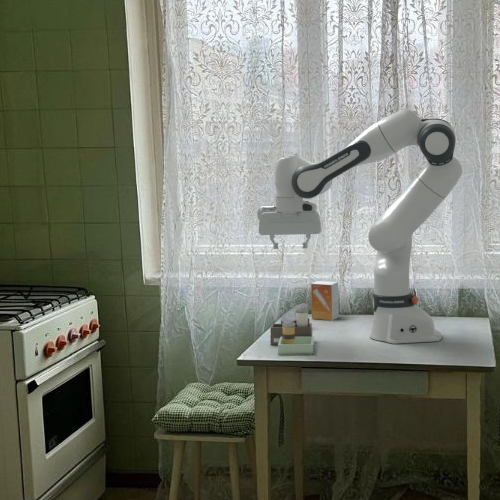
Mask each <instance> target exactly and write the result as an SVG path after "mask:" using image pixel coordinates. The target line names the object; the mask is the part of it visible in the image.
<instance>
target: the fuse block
mask: <svg viewBox="0 0 500 500" xmlns="http://www.w3.org/2000/svg"><path fill="white" fill-rule="evenodd" d="M294 325H295V327H294V329H295V337H313V324H312V323H310V322H309V323H308V327H297V323H294ZM269 329H270V337H269V338H270V340H269V341H270V346H278V343H279V340H280V337H283V327H282V324H281V323H271V325H270V328H269Z"/></svg>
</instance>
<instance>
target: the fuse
mask: <svg viewBox="0 0 500 500" xmlns="http://www.w3.org/2000/svg"><path fill="white" fill-rule="evenodd" d="M308 318H309V309H308V307H307V308H306V307H298V308H296V320H297V327H308Z"/></svg>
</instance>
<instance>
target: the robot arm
mask: <svg viewBox="0 0 500 500" xmlns="http://www.w3.org/2000/svg"><path fill="white" fill-rule="evenodd" d="M456 136H457V135H456V132H455V129H454V128H453V126H452V125H451V123H450V122H448V121H446V120H445V119H442V118H422V119H421V118H420V117H419V115H418V114H417V113H416V112H414V111H413V110H411V109H407V108H404V109H402V110H398V111H396V112H393V113H392V114H389V115H387V116H386V117H383V118H381V119H380V120H378V121H377V122H375V123H373V124H372V125H370V126H369V127H368V128H366V129H365V130H364V131H363V132H361V134H359V135H358V136H356V138H355V139H353V140H352V141H351V142H350V143H349V144H348V145H347V146H345V147H344V148H342V149H341V150H339V151H338V152H336V153H334V154H333V155H331V156H329V157H328V158H326V159H324V160H321V161H320V162H318V163H314V162H312V161H309V160H307V159H305V158H303V157H302V156H301V155H300V154H289V155H286V156H285V155H284V156H282V157H279V158H278V159H277V160H276V162H275V167H274V168H275V169H274V185H275V189H276V190H275V199H274V200H275V205H271V206H270V205H269V206H261V207H260V208H258V210H257V211H256V213H257V216H256V217H257V220H258V221H259V222H258V234H259V235H260V236H269V240H270V241H271V243H272V244H273V245H272V246H273V250H278V249H279V242H276V241H275V236H287V235H289V236H290V235H293V236H294V235H305V238H307V239H306V240H305V241H303V242H302V249H308V243H309V242H310V240H311V237H312V236H311V235H319V234H321V232H322V222H321V217H320V214H319V212H318V211H317V209H318V206H317V205H318V204H317V203H315V202H312V201H309V200H305V199H313V198H315V197H317V196H321V195H323V194H324V193H326V192H327V191H329V189H330V188H331V187H332V184H333V179H335V178H337V177H339V176H340V175H342V174H345V172H348V171H349V170H351V169H353V168H355V167H358V166H361V165H362V166H363V165H366V164H372V163H375V162H380V161H382V160H384V159H387V158H389V157H391V156H393V155H395V154H396V153H398V152H399V151H401V150H403V149H404V148H406V147H408V146H417V147H419V150H420V152H421V153H422V155H423V156H424V158H425V159H426V160H427V162H426V164H425V166H424V167H423V169H421V171H419V173H418V174H417V176H415V177H414V178H413V180H412V181H411V182H410V183H409V184H408V185H407V187H406V188H405V190H403V192H402V193H400V195H399V196H398V197H396V199H395V200H394V201H393V202H392V203H391V204H390V205H389V206H388V207H387V209H386V210H384V212H382V214H381V215H380V216H379V217H378V218H377V219H376V220H375V222H374V223H373V224H372V225H371V227H370V229H369V231H368V242H369V245H370V246H371V248H372V249H374V250H375V251H376V258H375V264H374V266H373V267H374V268H373V275H374V276H373V277H374V279H373V283H374V287H373V288H374V290H373V293H372V311H373V319H372V327H371V332H370V335H369V338H371V339H373V340H375V341H379V342H386V343H389V344H395V345H396V344H411V343H426V342H428V343H429V342H439V341H441V340H442V339H443V337H442V336H443V335H442V332H441V331H439V330H438V329H436V328H435V323H434V321H433V317H432V316H431V315H430V314H429V313H428V312H426V311H425V310H423V309H422V308H421V307H419V306H418V305H417V304H418V302H419V298H418V296H416V295H414V293H411V292H410V265H411V264H410V263H411V258H412V257H411V256H412V246H413V245H412V241H413V234H414V233H415V232H416V231H417V230H418V228H420V227H421V226H422V225H423V223H425V222H426V221H427V219H429V217H430V216H432V214H433V213H434V212H435V210H436V209H437V208H438V207H440V205H441V204H442V203H443V201H444V200H445V199H446V198H447V197H448V196H449V195H450V193H451V192H452V191H453V189H454V187H455V186H456V185H457V184H458V182H459V180H460V178H461V177H462V175H463V167H462V164H461V162H460V161H459V160H458V159H457V158H456V157H455V156H454V152H455V148H456V141H457V139H456V138H457V137H456Z"/></svg>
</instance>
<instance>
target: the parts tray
mask: <svg viewBox="0 0 500 500" xmlns="http://www.w3.org/2000/svg"><path fill="white" fill-rule="evenodd" d="M314 349H315V336H312V337H295V344H283V337H280V340H279V343H278V345H277V353H278V355H279V356H280V355H281V356H282V355H290V356H291V355H295V356H296V355H301V356H302V355H313V354H314ZM278 355H277V356H278Z"/></svg>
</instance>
